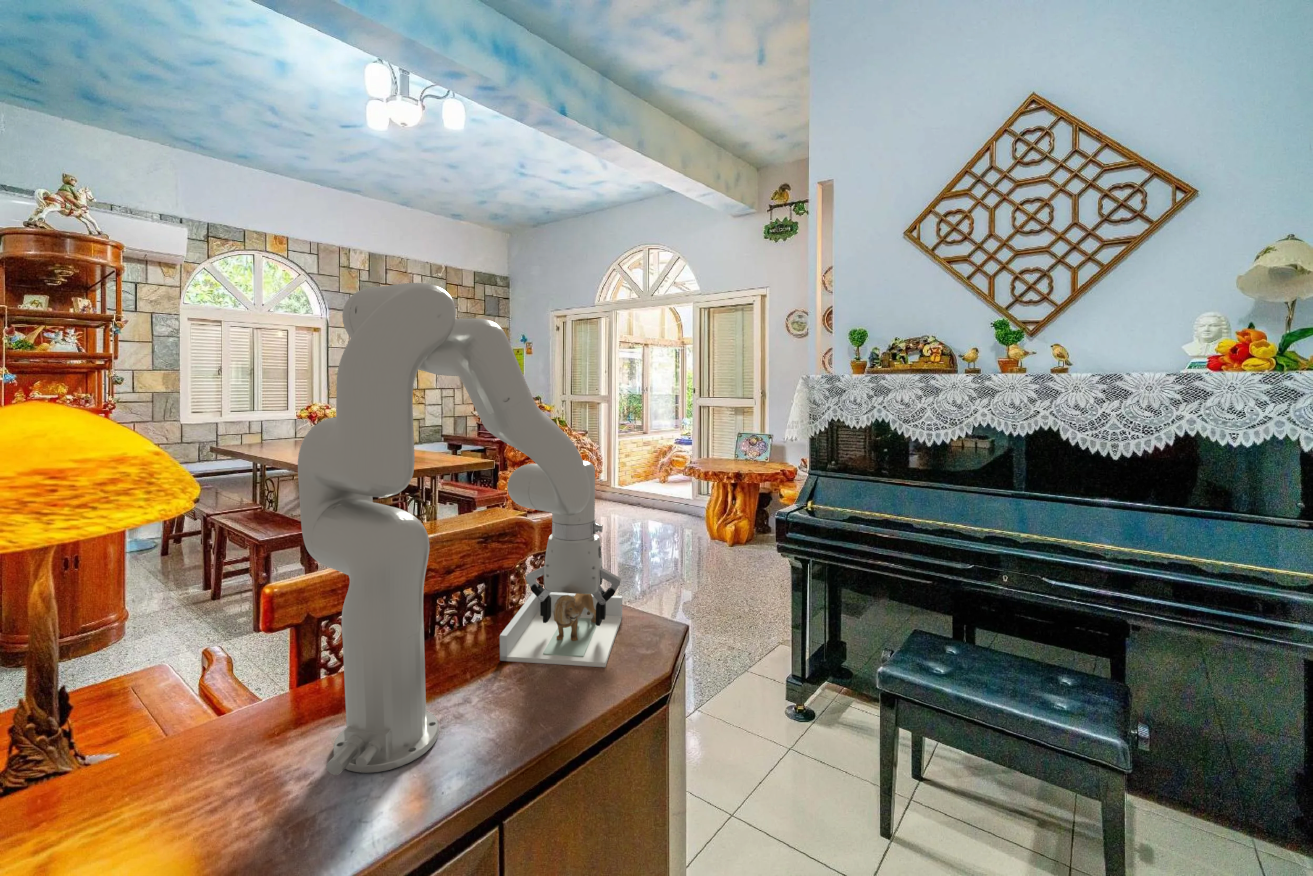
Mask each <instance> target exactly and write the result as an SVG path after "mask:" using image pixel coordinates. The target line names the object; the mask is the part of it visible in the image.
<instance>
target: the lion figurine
mask: <svg viewBox="0 0 1313 876" xmlns="http://www.w3.org/2000/svg"><path fill="white" fill-rule="evenodd" d="M584 608H586V609H587V610H588V612H587V615H590V613H591V614H592V615H593V617H592V619H591V622H592V623H596V610H595V609H594V605H593V598H592V595H591V594H576V595H575V596H574V597H571V596H569V595H564V596H561V597H560V598H559V599H557V602H556V603H555V609H554V621H556V623H557V625H558V631H559V635H558V636H557V640H562V639H563V637H564V631H563V628H567V627H570V626H571V628H572V630H571V640H572V641H576V640H578V638H577V625H578V621H579V619H580V617H581V613H582V611H583V609H584Z"/></svg>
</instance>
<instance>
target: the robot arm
mask: <svg viewBox="0 0 1313 876" xmlns="http://www.w3.org/2000/svg"><path fill="white" fill-rule="evenodd" d="M341 317H342V323H343V327H344V330H345V332H346V333H347V335H348V336H349V338H350V339H349V341H348V343H347V344H346V346H345V348H344V350H343V352H342V355H341V357H340V361H339V364H338V368H337V374H336V397H335V399H336V400H335V401H336V402H335V406H336V407H335V410H336V412H335V415H336V416H335V417H330V418H325V419H324V420H323V419H322V421H319V422H318V423H316V424H315V425H313V426H312V427H311V428H310V429H309V431H308V432H306V435H305V436H304V437H303V440H302V442H301V445H300V448H299V452H298V457H297V476H298V477H297V479H298V496H299V508H300V509H299V510H300V512H299V513H300V524H301V525H300V526H301V533H302V540H303V543H304V546H305V548H306V550H307V552H308V554H309V555H310V557H312V559H314V560H315V561H316V562H318V563H319V564H321V565H323V566H325V567H328V568H330V569H332V570H335V571H338V572H339V573H342V574H344V575H347V576H348V578H349V585H348V588H347V589H348V590H347V593H346V596H345V598H344V603H343V605H342V611H341V638H342V652H343V653H342V654H343V656H342V657H343V671H344V672H343V678H344V701H345V702H344V703H345V722H346V727H345V728H344V729H343V730H342V731H341V732H340V733H339V735H337V736H336V739H335V740H334V743H333V749H332V750H333V756H332V758H331V759H330V760H329V761H328V762H327V763H326V770H327V771H328V773H329V774H331V775H333V776H338V775H340V774H341V773H342V772H343V771H344V770H348V771H349V772H350V771H351V772H355V773H363V774H365V773H366V774H369V773H379V772H385V771H389V770H390V771H391V770H393V769H397V768H400V767H402V766H406V765H407V764H410V763H412V762H413V761H416V760H417V759H418V758H420V757H422V756H423V755H424V754H426V753H427V752H428V751H429V750H430V749H431V748H432V747H433V746H434V744H435V743H436V741H437V739H438V738H439V734H440V733H439V731H440V729H439V725H440V724H439V721H438V719H437V717H436V716H435V715H434V714H433V713H432V712H430V711H428V710H427V702H426V701H427V700H426V699H427V698H426V697H427V695H426V659H425V657H426V655H425V622H424V590H425V588H424V586H425V579H426V573H427V566H428V562H429V555H430V537H429V535H428V532H427V529H426V528H425V526H424V524H423V523H422V521H420V519H418V518H417V517H416V516H415V515H414V514H412V513H410V512H408V511H406V510H404V509H401V508H398V507H395V506H390V505H386V504H384V503H383V504H382V503H378V502H373V501H374V500H373V498H386V497H392V496H395V495H398V494H399V493H401V492H402V491H404V490H405V489H406V488H407V487H408V486H409V484H410V482H411V481H412V478H413V476H414V471H415V457H416V455H415V437H414V435H415V434H414V411H413V409H414V408H413V407H414V406H413V404H414V403H413V400H414V399H413V397H414V396H413V395H414V384H415V380H416V376H417V374H418V371H423V372H426V373H429V374H433V375H436V376H444V377H459V379H460V381H461V382H462V385H463V387H464V388H465V391H466V392H467V394H468V397H469V399H470V400H471V403H472V404H473V407H474V409H475V411H476V413H477V415H478V416H479V418H480V422H481V423H482V425H483V427H484V429H486V431H487V432H489V433H490V434H491V435H493V436H494V437H495V438H497V439H499V440H500V441H502V442H503V443H505V444H507V445H508V446H510V447H512V448H514V449H516V450H517V451H519V452H521V453H523V454H524V455H525V456H527V457H529V458H530V459H531V460H532V461H533V462H534V463H527V464H524V465H521V466H519V467H518V468H516V469H515V470H514V471H513V472H512V473H511V474H510V476H509V478H508V481H507V493H508V496H509V497H510V499H511V501H513V503H515V504H516V505H519V506H520V507H523V508H526V509H531V510H537V511H540V512H541V511H542V512H547V513H551V523H552V524H551V525H552V526H551V534H550V535H549V537H548V539H547V545H546V551H545V558H544V566H541V567H539V568H537V569H535V570H533V571H530V572H528V573H527V574H526V575H525V580H526V583H527V584H528V586H529V587H530V591H531V592H532V593H534V594H535V595H536V596H537V597H538V600H539V601H540V615H541V616H543V623H546V622H548V620H549V619H550V617H551V597H550V596H549V594H550V593H551V592H557V593H574V594H592V595H593V596H594V597H595V599H596V600H597V601H598V602H597V604H596V625H597V626H600V624H601V622H602V620H605V617H606V602H607V601H608V600H609V599H610V598H611V597H612V596H613V595H615V594H616V591H617V590H618V589H619V586H620V584H621V582H622V578H621V577H620V576H617V575H616V574H614V573H612V572H610V571H609V570H606V569H605V568H603V554H602V544H601V539H600V536H599V535H598V534H596V533H602V532H603V529H604V525H603V524H601V523H597V519H596V518H595V515H596V514H595V512H596V511H595V510H596V507H595V505H596V469H595V465H594V464H593V463H592V462H590V461H587V460H583V458H582V456H581V454H580V452H579V449H578V448H577V447H576V444H575V443H574V442H573V440H571V438H570V437H569V436H568V435H567V433H565V432H564V431H563V430H562V429H561V427H559V426H558V424H556V422H555V421H554V420H553V419H551V418H550V417H549V416H548V415H547V414H546V413H545V412H544V411H543V410H542V409H540V408H539V406H538V405H537V404H536V402H535V400H534V397H533V395H532V392H531V390H530V387H529V386H528V384H527V381H526V379H525V377H524V374H523V372H522V370H521V367H520V364H519V361H518V359H517V358H516V354H515V353H514V350H513V348H512V345H511V343H510V341H509V338H508V336H507V333H506V332H505V331H504V329H503V328H502V327H501V326H500V325H499V324H498V323H496V322H494V321H492V320H490V319H489V320H488V319H485V318H474V317H473V318H457V309H456V305H455V301H454V299H453V298H452V296H451V294H449V292H447V291H446V290H445V289H444V288H442V287H440V286H438V285H436V284H432V283H427V282H410V283H409V282H407V283H399V284H398V283H397V284H391V285H381V286H373V287H367V288H364V289H360V290H358V291H356V292H354V293H353V294H352V295H351V296H350V297H348V299H347V301H346V302H345V303H344V306H343V309H342V315H341ZM542 576H543V586H544V587H543V586H542V585H541V584H540V583H539V582H538V580H537V579H538V578H540V577H542ZM603 580H605V581H607V582H609V583H610V584H611V585H610V586H609V588H608V589H606V591H605V590H604V588H603V586H601V585H603Z"/></svg>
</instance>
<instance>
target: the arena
mask: <svg viewBox="0 0 1313 876" xmlns="http://www.w3.org/2000/svg"><path fill="white" fill-rule="evenodd" d="M564 595H569V596H571V597H574V596H575V595H576V594H574V593H557V592H551V593H550V594H549V596H550V597H551V617H550V619H549V620H548V622H546V623H543V616H541V615H540V601H539V600H538V597H537V596H536V595H535V594H534V593H533V592H532V593H531V594H530V596H529V597H528V598H527V599H526V600H525V602H524V603H523V604H522V606H521V607H520V609H519V610H518V611H517V612H516V614H515V615H514V616H513V618H511V620H510V622H509V623H508V624H507V625H506V626H505V628H504V629H503V630H502V632H501V633H500V634H499V661H501V662H512V663H513V662H517V663H533V664H547V665H561V666H564V665H566V666H576V667H577V666H579V667H596V668H606V666H607V663H608V660H609V657H610V654H611V651H612V649H613V647H614V643H615V640H616V637H617V634H618V631H619V627H620V625H621V623H622V620H623V595H615V594H614V595H613V596H612V597H611V598H610V599H609V600H608V601H607V602H606V617H605V620H602V622H601V624H600V626H597V625H596V623H592V622H591V619H592V617H593V615H592V614H591V613H590V615H587V612H588V610H587V609H586V608H584V609H583V611H582V613H581V617H580V619H579V621H578V625H577V638H578V640H576V641H572V640H571V630H572V628H571V626H570V627H567V628H563V631H564V637H563V639H562V640H557V636H558V635H559V631H558V625H557V623H556V621H554V609H555V603H556V602H557V599H559V598H560V597H561V596H564ZM591 595H592V594H591ZM592 598H593V605H594V609H595V610H596V604H597V602H598V601H597V600H596V599H595V597H594V596H593V595H592ZM620 605H622V606H620Z"/></svg>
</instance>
